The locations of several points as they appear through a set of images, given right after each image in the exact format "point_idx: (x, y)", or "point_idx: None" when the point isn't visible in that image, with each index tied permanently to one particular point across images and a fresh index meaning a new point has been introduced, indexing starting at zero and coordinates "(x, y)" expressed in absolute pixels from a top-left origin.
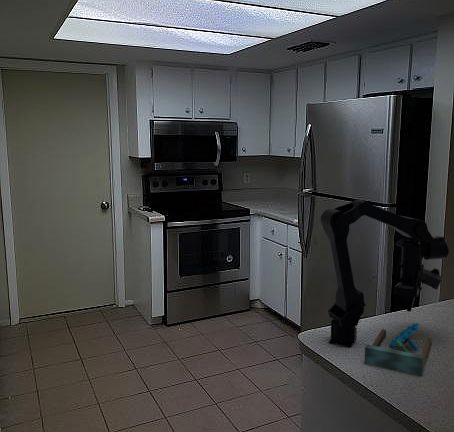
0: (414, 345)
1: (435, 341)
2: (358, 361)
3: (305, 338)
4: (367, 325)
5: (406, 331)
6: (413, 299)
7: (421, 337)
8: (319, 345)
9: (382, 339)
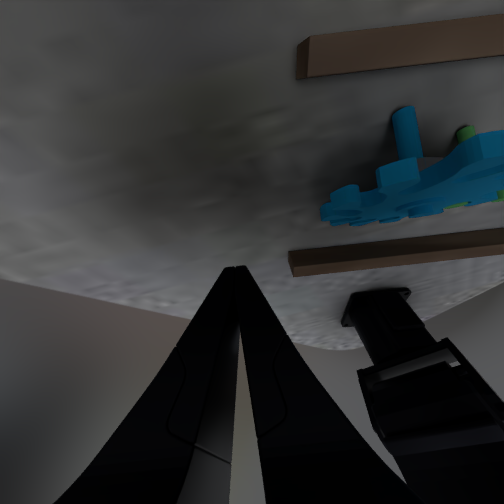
0: (416, 127)
1: (232, 29)
2: None
3: None
4: None
5: (433, 196)
6: (317, 380)
7: (222, 133)
8: None
9: (350, 251)
